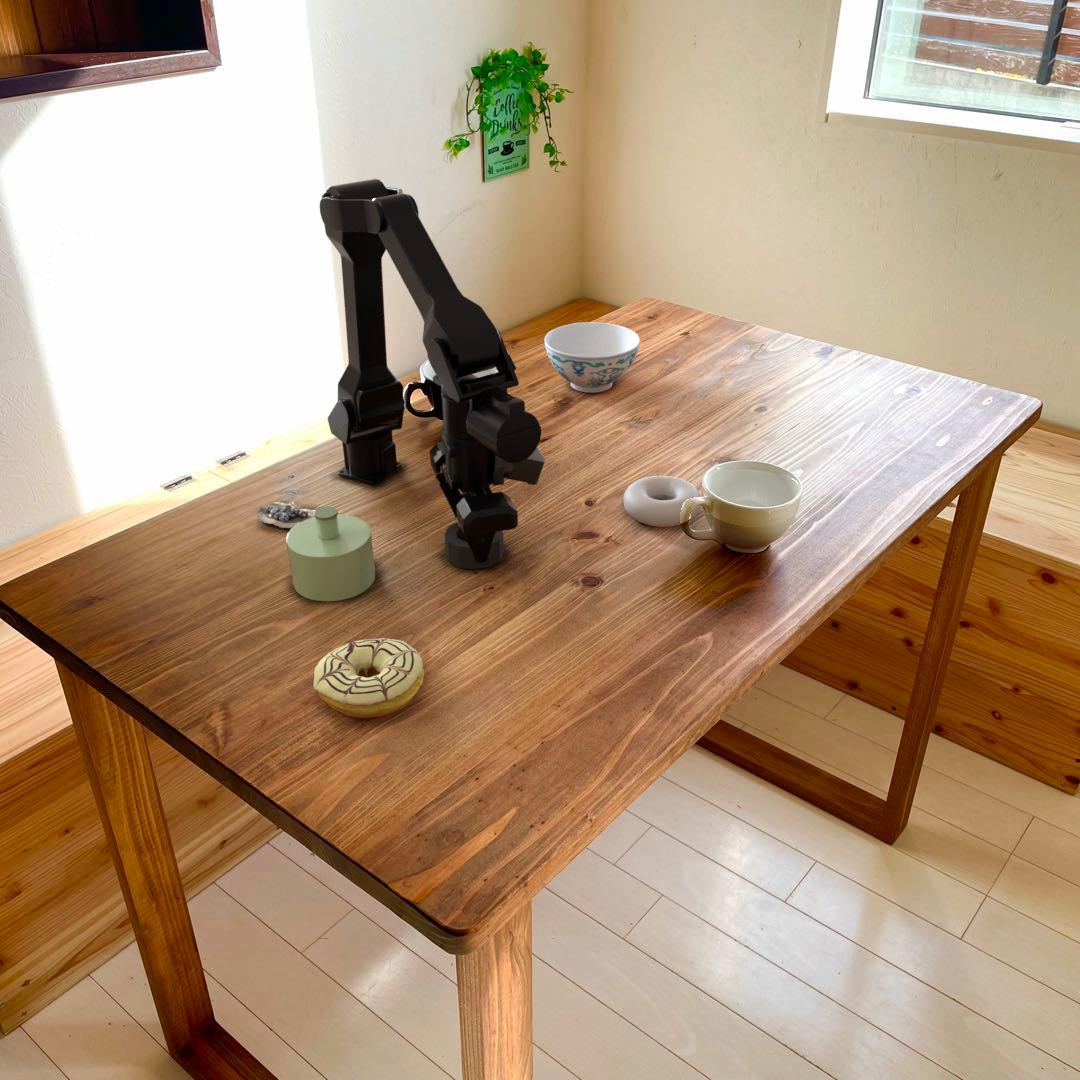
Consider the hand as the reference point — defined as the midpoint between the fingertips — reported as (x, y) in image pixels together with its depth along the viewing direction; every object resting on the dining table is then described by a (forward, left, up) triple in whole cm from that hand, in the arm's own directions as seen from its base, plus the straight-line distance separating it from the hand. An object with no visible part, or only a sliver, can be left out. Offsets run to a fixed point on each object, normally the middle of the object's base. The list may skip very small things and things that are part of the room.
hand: (474, 546), depth 133 cm
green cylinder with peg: (-12, -12, -1) cm, 17 cm away
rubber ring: (0, 0, -1) cm, 1 cm away
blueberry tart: (-26, -3, -1) cm, 26 cm away
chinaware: (-10, +53, -1) cm, 54 cm away
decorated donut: (+4, -27, -1) cm, 27 cm away
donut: (+16, +20, -1) cm, 26 cm away
